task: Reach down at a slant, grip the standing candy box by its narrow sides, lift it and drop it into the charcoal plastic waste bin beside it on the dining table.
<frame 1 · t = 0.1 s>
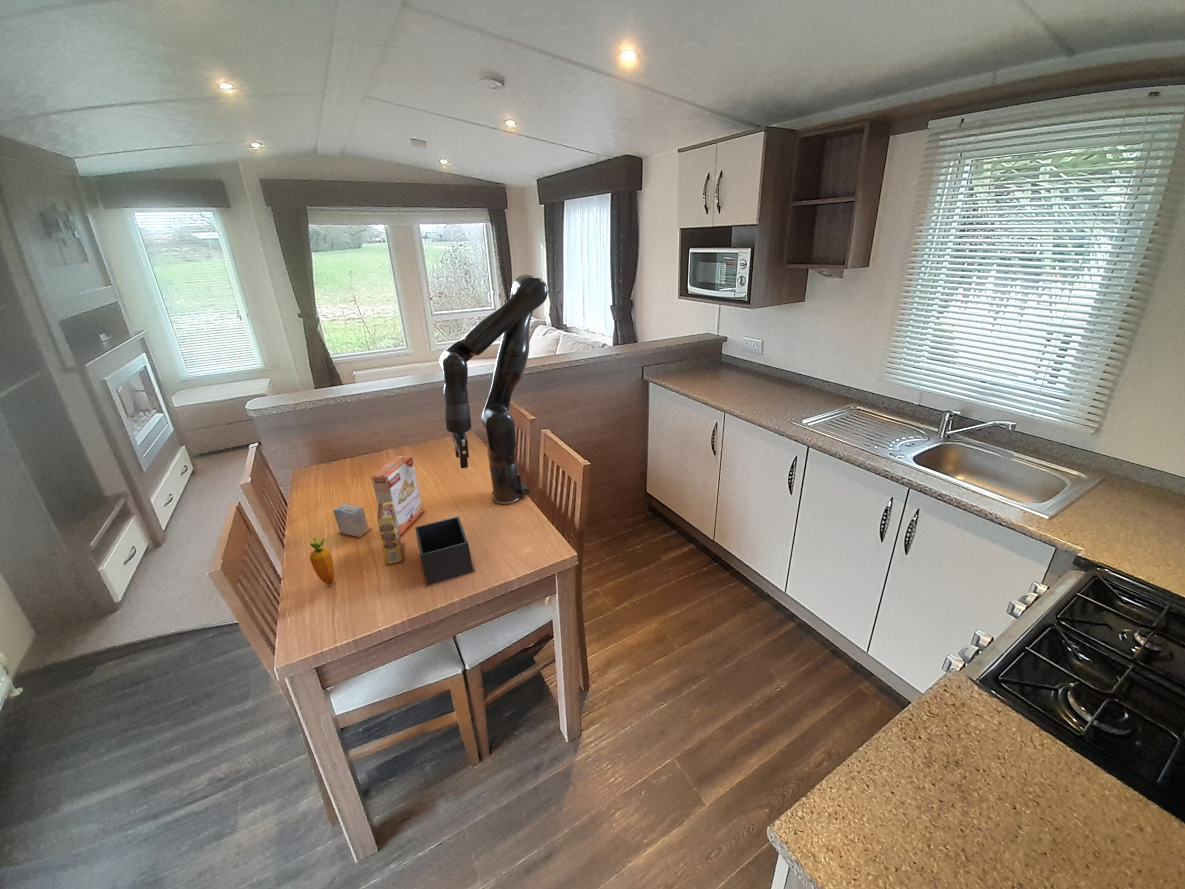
hand: (461, 462, 154), 17 cm above the table, tool pointing down, fingers open, 8 cm apart
medicine box: (355, 532, 151), on the table
carrot: (330, 585, 128), on the table
candy box: (395, 554, 140), on the table
cracker box: (405, 523, 154), on the table
waste bin: (446, 563, 135), on the table
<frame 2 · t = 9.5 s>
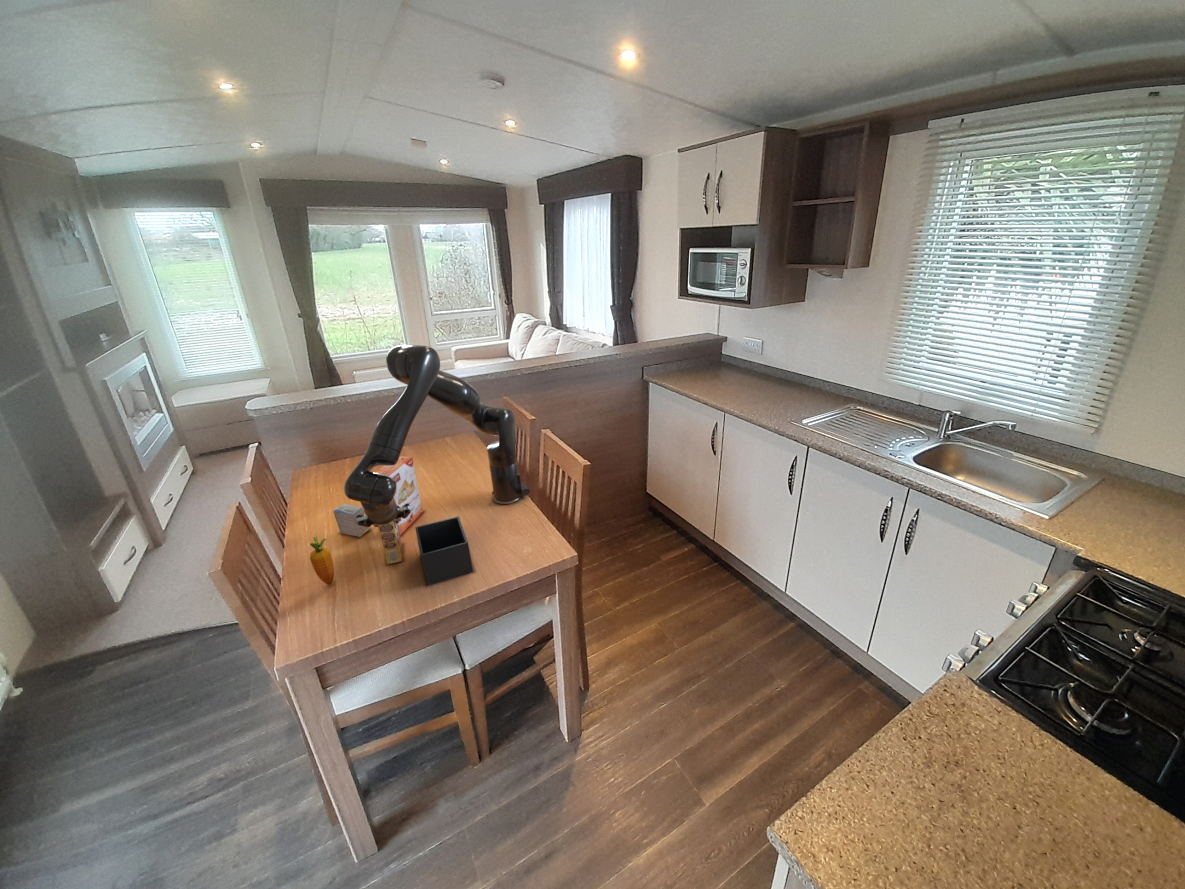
hand: (388, 522, 137), 10 cm above the table, tool tilted 45°, fingers closed on candy box, 4 cm apart
candy box: (395, 554, 140), on the table, touching gripper
everything else where it was.
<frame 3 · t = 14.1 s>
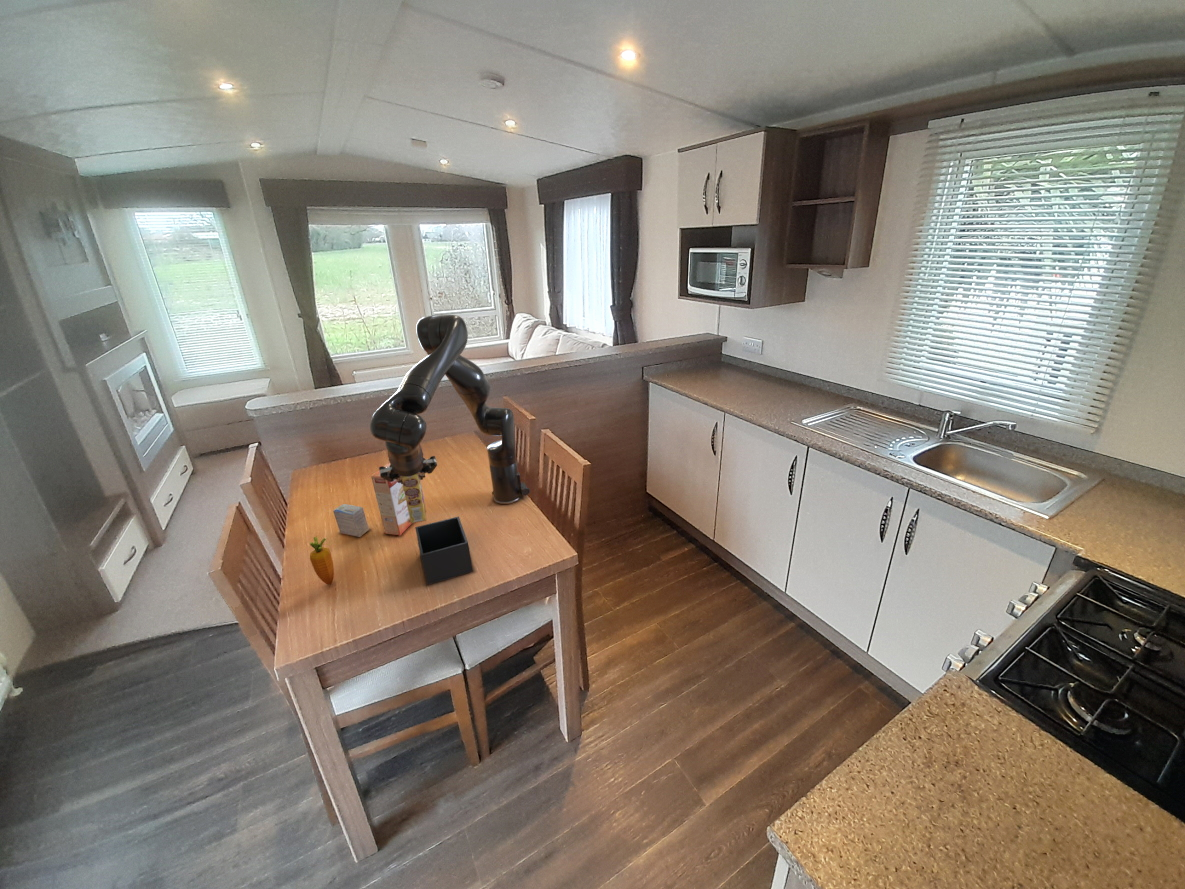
hand: (411, 478, 127), 26 cm above the table, tool tilted 45°, fingers closed on candy box, 4 cm apart
candy box: (418, 514, 130), point 16 cm above the table, touching gripper
everything else where it was.
when the fingers open (11 cm above the table, at t = 18.7 s): candy box stays where it is, resting on waste bin.
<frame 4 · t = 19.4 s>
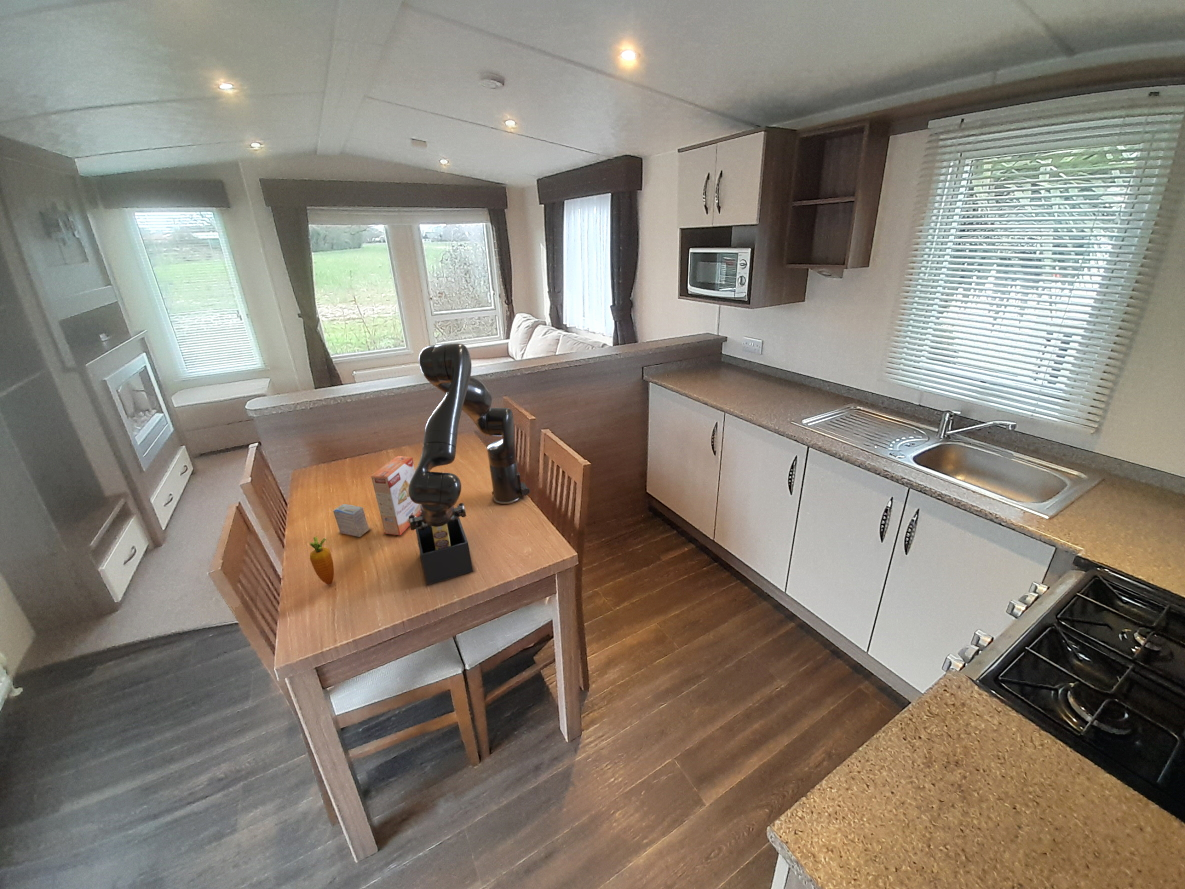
hand: (438, 522, 131), 13 cm above the table, tool tilted 45°, fingers open, 8 cm apart
candy box: (446, 561, 135), point 1 cm above the table, touching waste bin
everything else where it was.
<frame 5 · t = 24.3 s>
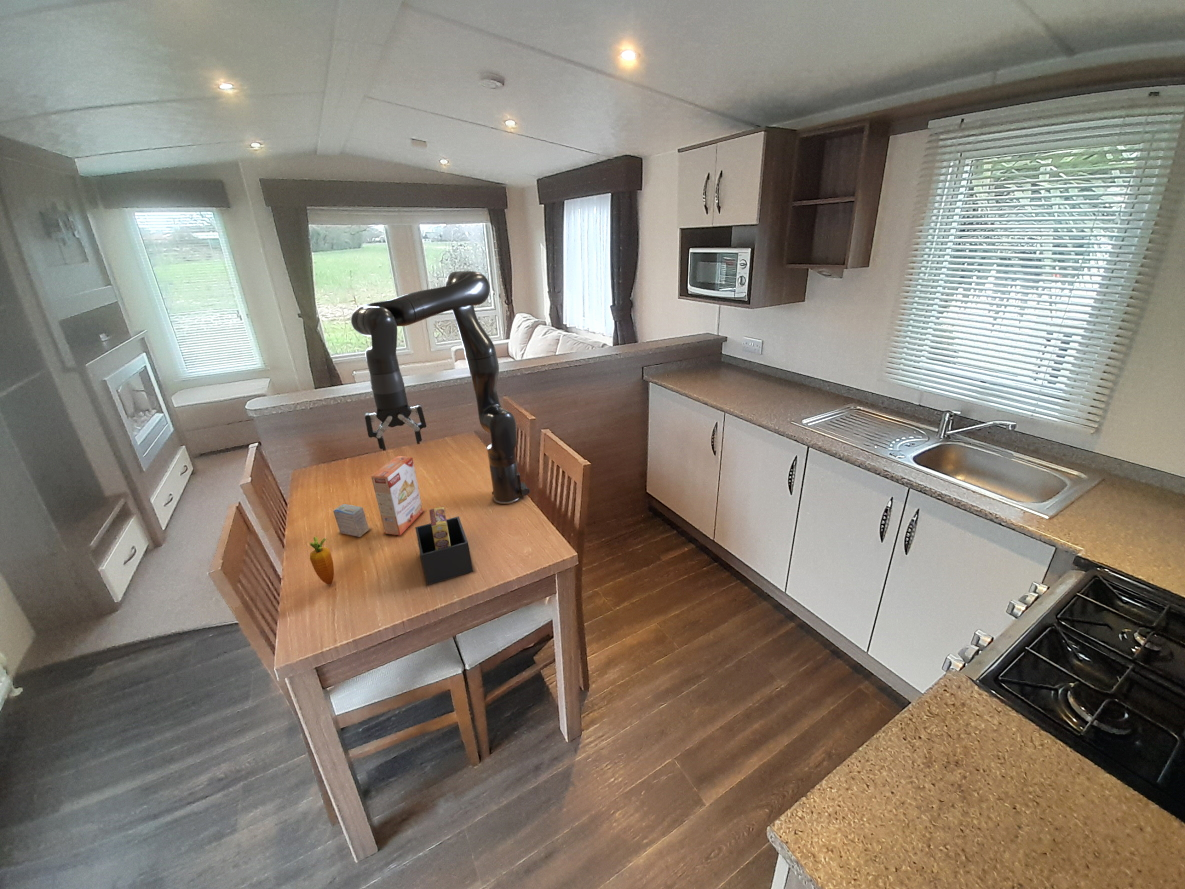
hand: (401, 446, 126), 34 cm above the table, tool pointing down, fingers open, 8 cm apart
nothing on the table moved.
at the end: candy box inside the target area in the waste bin (0.2 cm from its centre), point 0.6 cm above the waste bin's base; the gripper is holding nothing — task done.
